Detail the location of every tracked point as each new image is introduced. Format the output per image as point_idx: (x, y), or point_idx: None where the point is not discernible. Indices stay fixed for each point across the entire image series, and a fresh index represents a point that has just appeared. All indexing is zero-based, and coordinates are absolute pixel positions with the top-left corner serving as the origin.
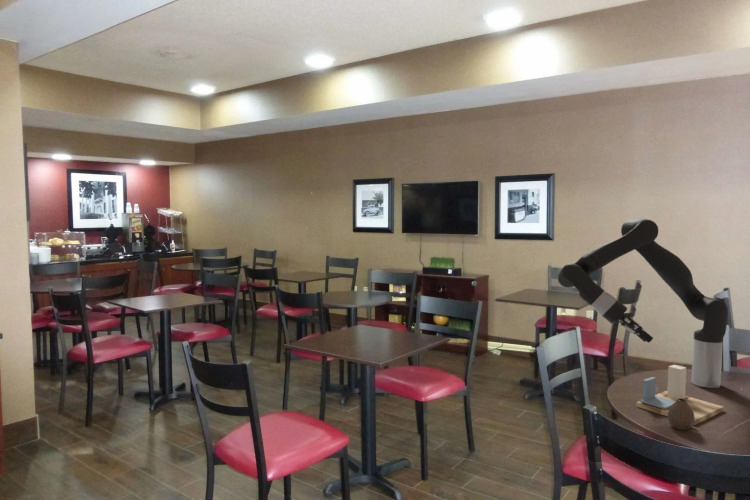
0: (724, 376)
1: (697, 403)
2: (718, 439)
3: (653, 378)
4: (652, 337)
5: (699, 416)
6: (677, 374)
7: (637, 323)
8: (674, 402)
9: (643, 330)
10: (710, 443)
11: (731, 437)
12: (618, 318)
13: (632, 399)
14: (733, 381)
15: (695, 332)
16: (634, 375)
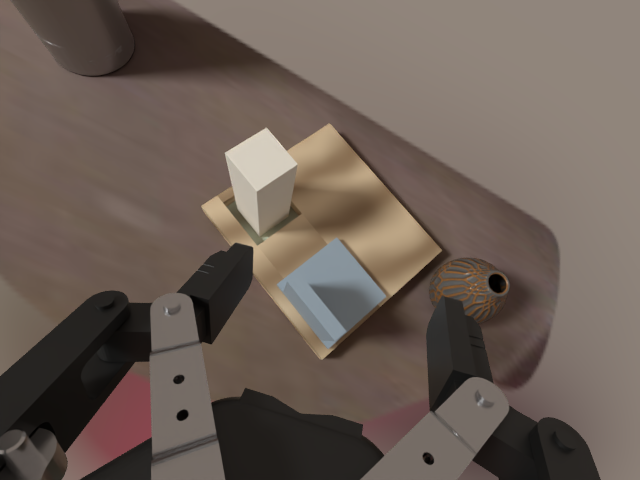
0: None
1: (313, 176)
2: (496, 239)
3: (309, 287)
4: (461, 302)
5: (413, 224)
6: (286, 181)
7: (470, 458)
8: (338, 246)
9: (461, 374)
10: (523, 270)
11: (477, 204)
12: None
13: (240, 339)
14: None
15: None
16: None
